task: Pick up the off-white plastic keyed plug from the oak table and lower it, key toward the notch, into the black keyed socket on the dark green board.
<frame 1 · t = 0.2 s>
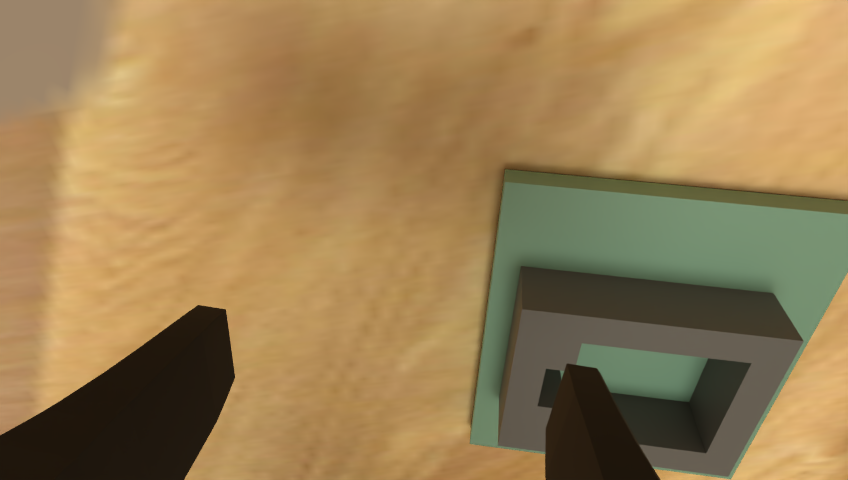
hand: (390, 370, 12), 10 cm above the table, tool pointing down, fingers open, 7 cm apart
header board: (630, 335, 23), on the table
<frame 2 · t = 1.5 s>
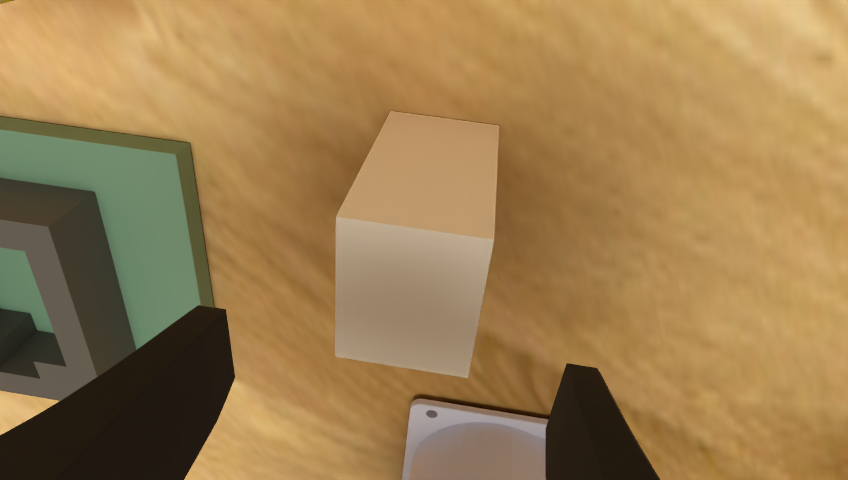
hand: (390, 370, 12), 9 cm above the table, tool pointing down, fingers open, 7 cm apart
keyed plug: (437, 177, 20), on the table
header board: (50, 251, 24), on the table
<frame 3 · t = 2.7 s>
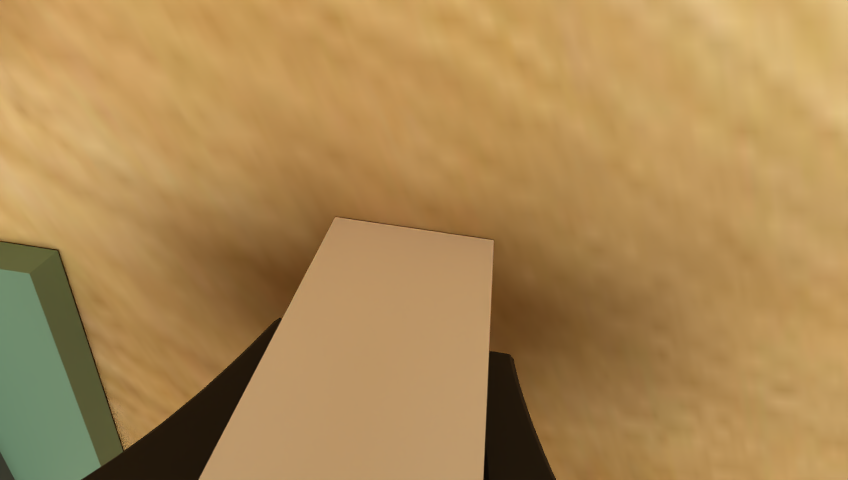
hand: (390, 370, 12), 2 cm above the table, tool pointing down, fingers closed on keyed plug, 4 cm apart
keyed plug: (406, 304, 14), on the table, touching gripper
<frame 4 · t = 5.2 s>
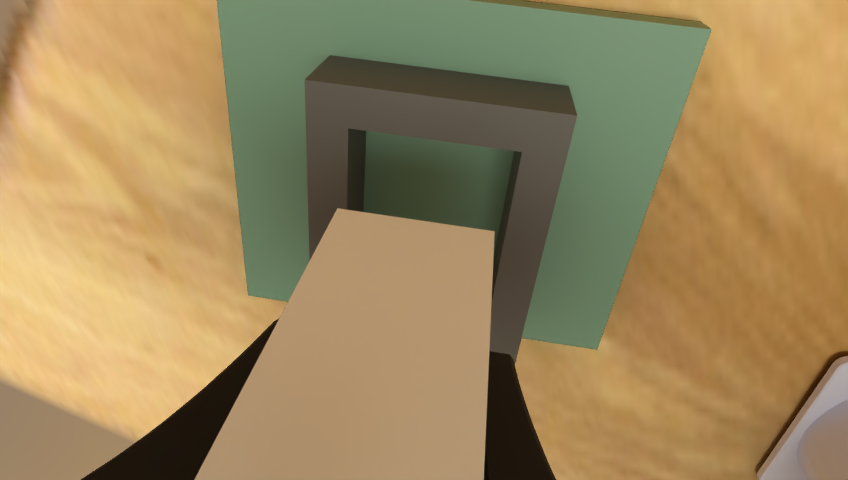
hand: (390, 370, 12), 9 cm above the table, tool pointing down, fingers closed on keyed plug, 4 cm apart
keyed plug: (408, 295, 14), point 7 cm above the table, touching gripper
header board: (437, 175, 20), on the table
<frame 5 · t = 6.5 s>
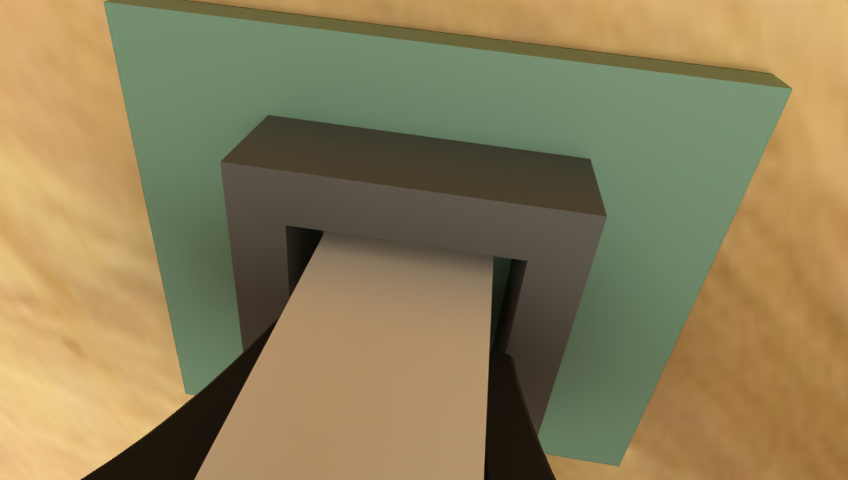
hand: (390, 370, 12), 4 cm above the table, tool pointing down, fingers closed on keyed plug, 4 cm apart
keyed plug: (408, 295, 14), point 2 cm above the table, touching gripper
header board: (417, 258, 15), on the table
when the fingers open (4 cm above the table, at t = 7.5 s): keyed plug stays where it is, resting on header board.
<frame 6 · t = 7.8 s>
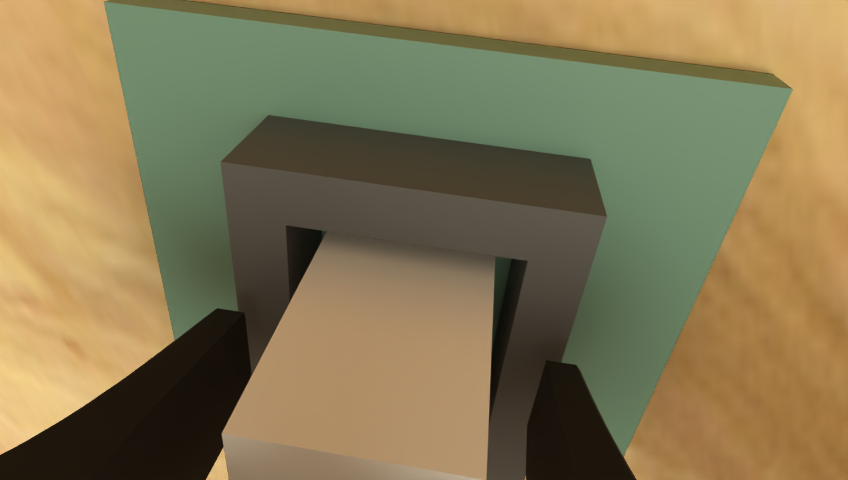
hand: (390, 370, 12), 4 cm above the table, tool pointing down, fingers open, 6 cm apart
keyed plug: (413, 277, 15), point 1 cm above the table, touching header board
header board: (417, 258, 15), on the table
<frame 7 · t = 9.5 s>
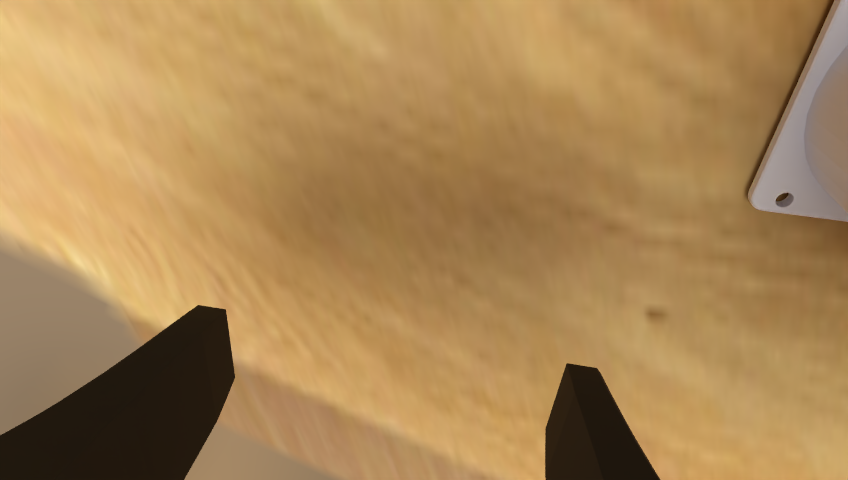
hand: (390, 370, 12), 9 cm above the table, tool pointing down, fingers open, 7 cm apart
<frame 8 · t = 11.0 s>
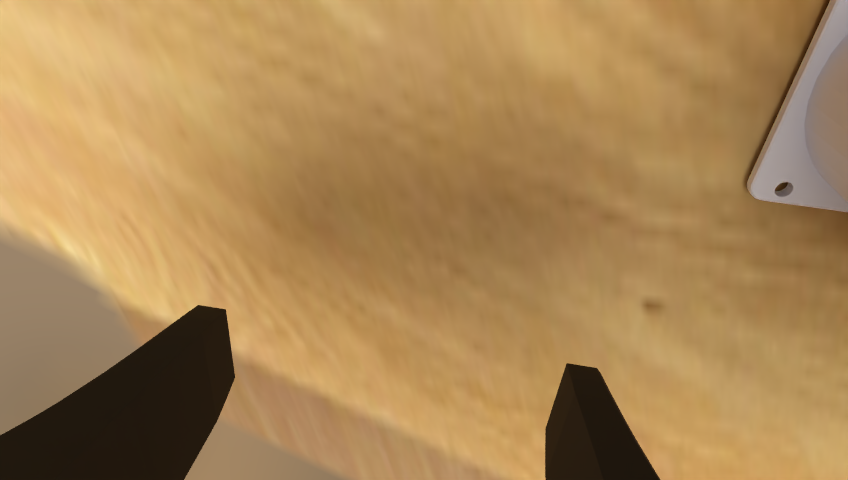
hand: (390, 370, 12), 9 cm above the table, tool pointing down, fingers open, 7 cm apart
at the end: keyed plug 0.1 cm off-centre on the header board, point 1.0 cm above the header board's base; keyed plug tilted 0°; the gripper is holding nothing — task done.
